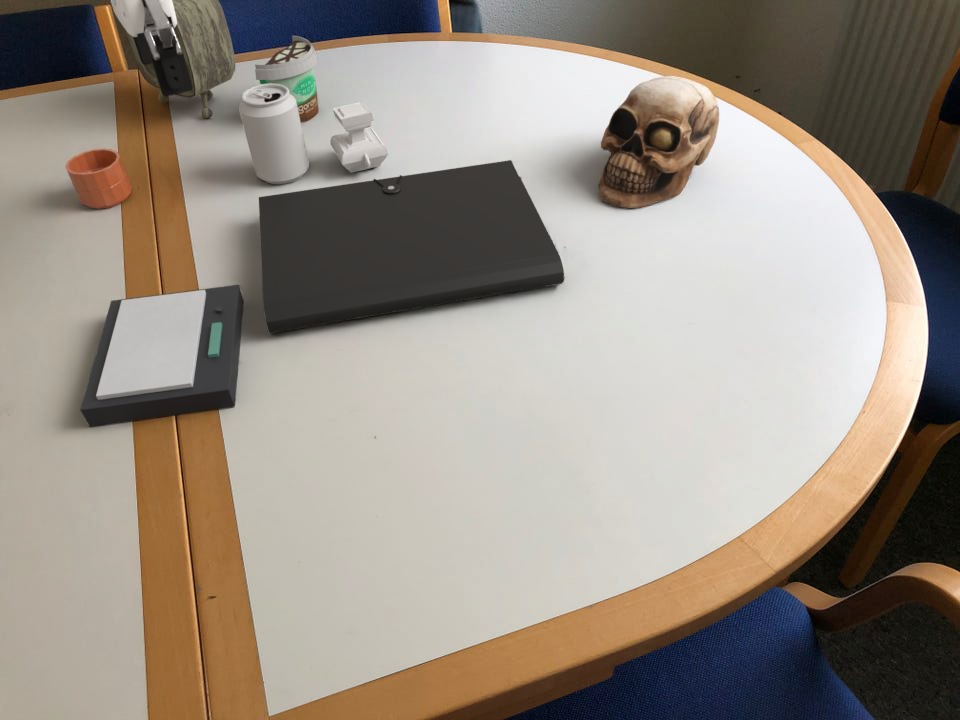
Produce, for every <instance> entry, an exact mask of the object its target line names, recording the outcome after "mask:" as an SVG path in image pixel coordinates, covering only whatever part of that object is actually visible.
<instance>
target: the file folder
mask: <svg viewBox="0 0 960 720" xmlns="http://www.w3.org/2000/svg"><path fill="white" fill-rule="evenodd" d="M258 213H259V217H258V219H259V220H258V221H259V222H258V223H259V239H260V261H261V262H260V263H261V284H262V285H261V286H262V303H263V313H264V320H265V324H266V329H267V331H268V333H269V334H274V333H280V332H285V331H286V332H287V331H292V330H298V329H303V328H308V327H309V328H310V327H315V326H321V325H327V324H334V323H338V322H344V321H350V320H356V319H362V318H367V317H368V318H369V317H373V316H379V315H386V314H392V313H397V312H404V311H409V310H414V309H415V310H416V309H421V308H427V307H433V306H439V305H444V304H450V303H457V302H462V301H468V300H474V299H479V298H486V297H492V296H496V295H497V296H498V295H503V294H509V293H515V292H521V291H526V290H531V289H539V288H543V287H549V286H555V285H562V284H563V283H564V282H565V270H564V265H563V261H562V258H561V256H560V254H559V252H558V249H557V247H556V245H555V243H554V241H553V239H552V237H551V236H550V233H549V231H548V230H547V227H546V225H545V223H544V221H543V220H542V218H541V216H540V213H539V212H538V210H537V208H536V206H535V204H534V202H533V200H532V198H531V195H530V194H529V192H528V189H527V187H526V186H525V184H524V182H523V180H522V178H521V176H520V175H519V173H518V171H517V169H516V167H515V165H514V163H513V161H512V159H509V160H502V161H495V162H488V163H482V164H474V165H468V166H461V167H455V168H447V169H441V170H433V171H428V172H420V173H413V174H408V175H407V174H406V175H402V174H400V175H398V176H394V177H386V178H380V179H376V178H373V179H371V180H366V181H359V182H353V183H345V184H338V185H332V186H326V187H325V186H324V187H318V188H311V189H305V190H298V191H291V192H284V193H278V194H269V195H264V196H259V197H258Z"/></svg>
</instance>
